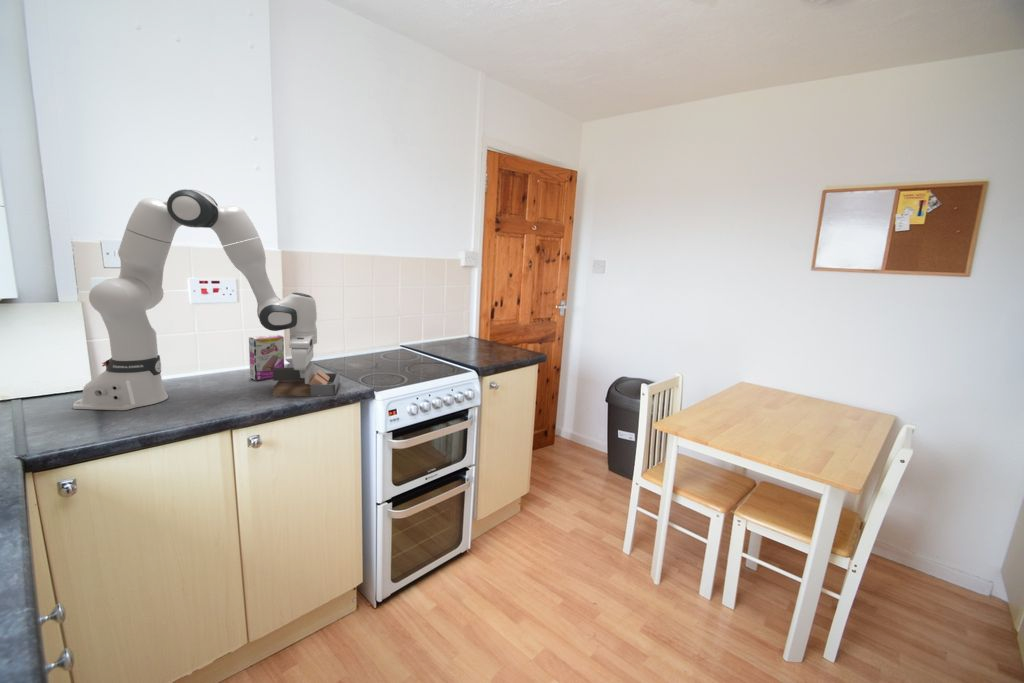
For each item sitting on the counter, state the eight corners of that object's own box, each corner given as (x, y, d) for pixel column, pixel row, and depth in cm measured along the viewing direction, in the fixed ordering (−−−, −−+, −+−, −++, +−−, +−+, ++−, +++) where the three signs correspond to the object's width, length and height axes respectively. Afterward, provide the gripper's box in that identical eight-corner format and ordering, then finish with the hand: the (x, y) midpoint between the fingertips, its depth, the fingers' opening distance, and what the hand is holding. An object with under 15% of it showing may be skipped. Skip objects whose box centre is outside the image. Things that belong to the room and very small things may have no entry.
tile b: (311, 378, 162) (317, 372, 162) (313, 375, 167) (319, 369, 167) (322, 387, 164) (328, 380, 164) (324, 383, 168) (330, 377, 168)
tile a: (308, 384, 156) (314, 377, 156) (310, 380, 160) (316, 373, 160) (320, 392, 157) (326, 386, 157) (322, 388, 162) (327, 382, 162)
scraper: (270, 384, 152) (269, 370, 151) (278, 375, 163) (277, 362, 162) (308, 383, 155) (308, 370, 155) (313, 374, 167) (313, 361, 166)
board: (272, 396, 152) (272, 388, 151) (282, 384, 166) (282, 376, 165) (310, 395, 155) (310, 387, 154) (317, 383, 169) (316, 376, 169)
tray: (310, 396, 155) (310, 385, 154) (317, 383, 170) (317, 373, 169) (335, 395, 157) (335, 384, 156) (339, 382, 172) (339, 372, 171)
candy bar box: (256, 381, 167) (254, 339, 164) (249, 379, 170) (247, 337, 167) (285, 376, 176) (284, 336, 173) (279, 374, 179) (277, 334, 176)
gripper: (299, 333, 167) (300, 368, 169) (288, 344, 147) (289, 384, 150) (317, 333, 168) (317, 368, 171) (308, 344, 149) (309, 383, 152)
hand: (304, 376), depth 160 cm, fingers closed on scraper, 3 cm apart
